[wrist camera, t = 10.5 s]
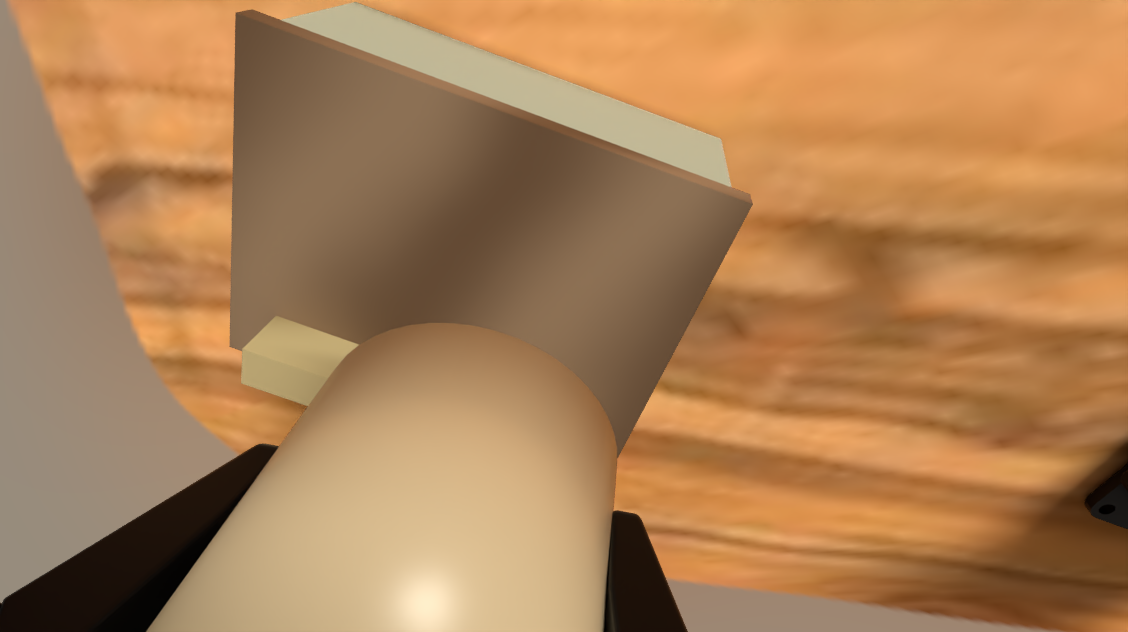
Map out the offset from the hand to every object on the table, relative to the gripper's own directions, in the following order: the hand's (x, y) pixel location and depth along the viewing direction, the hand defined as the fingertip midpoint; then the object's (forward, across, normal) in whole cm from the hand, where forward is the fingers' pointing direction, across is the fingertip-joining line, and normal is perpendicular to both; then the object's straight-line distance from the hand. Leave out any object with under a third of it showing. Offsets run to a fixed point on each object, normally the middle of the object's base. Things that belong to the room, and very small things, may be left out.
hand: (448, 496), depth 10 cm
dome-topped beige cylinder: (+1, 0, 0) cm, 1 cm away
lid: (+8, +2, +1) cm, 8 cm away
